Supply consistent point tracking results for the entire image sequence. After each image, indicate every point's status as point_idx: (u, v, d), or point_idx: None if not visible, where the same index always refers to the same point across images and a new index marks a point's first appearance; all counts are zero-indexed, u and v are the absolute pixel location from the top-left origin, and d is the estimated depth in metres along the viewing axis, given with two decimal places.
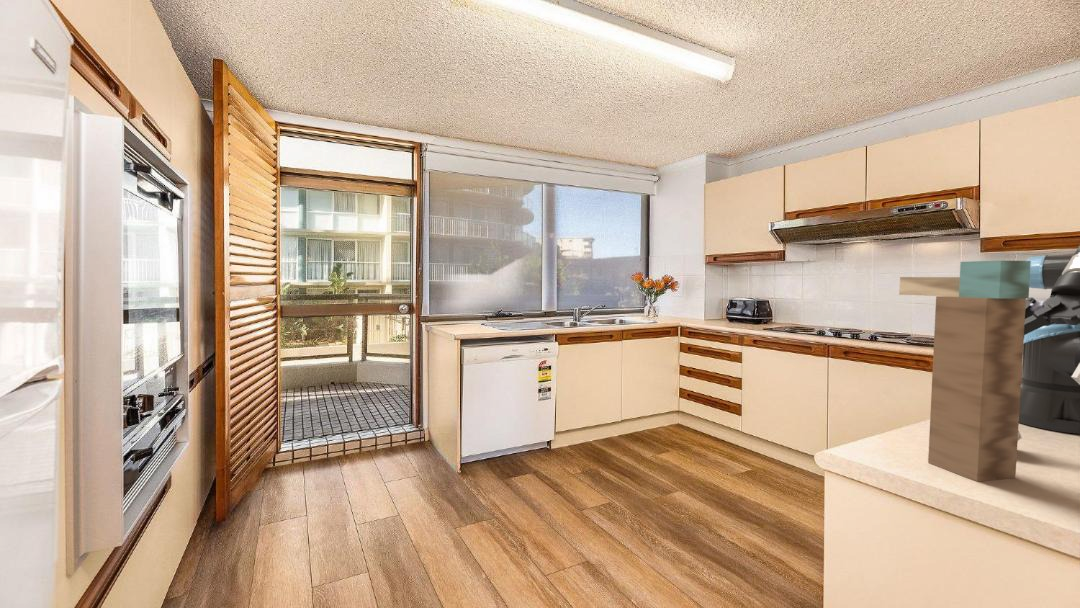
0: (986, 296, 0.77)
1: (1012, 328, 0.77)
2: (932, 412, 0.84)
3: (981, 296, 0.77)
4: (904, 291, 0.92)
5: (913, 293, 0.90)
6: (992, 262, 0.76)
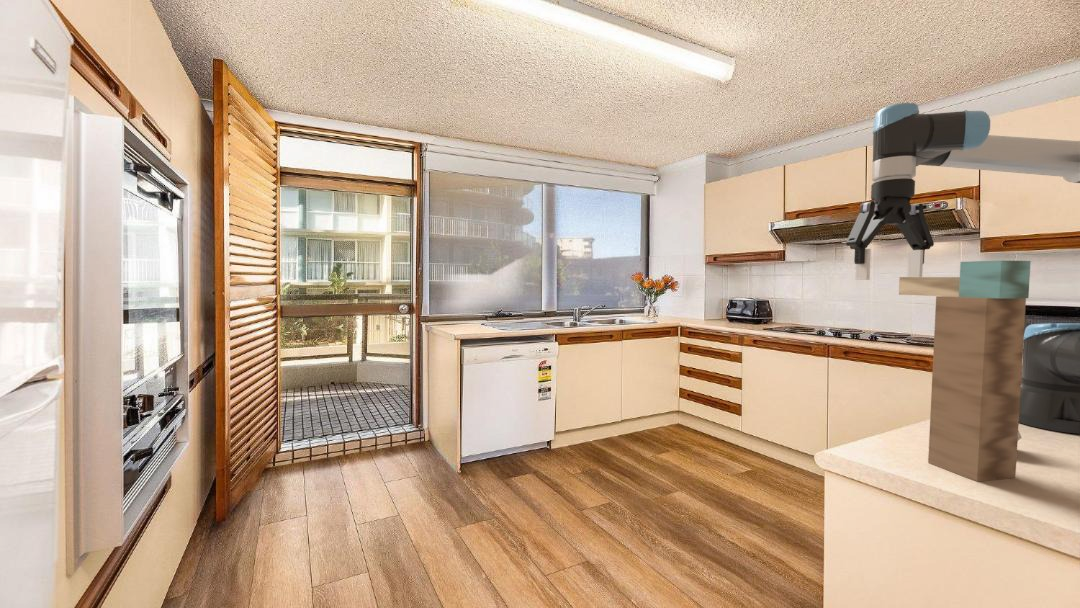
0: (986, 296, 0.77)
1: (1012, 328, 0.77)
2: (932, 412, 0.84)
3: (981, 296, 0.77)
4: (903, 291, 0.92)
5: (913, 293, 0.90)
6: (992, 262, 0.76)
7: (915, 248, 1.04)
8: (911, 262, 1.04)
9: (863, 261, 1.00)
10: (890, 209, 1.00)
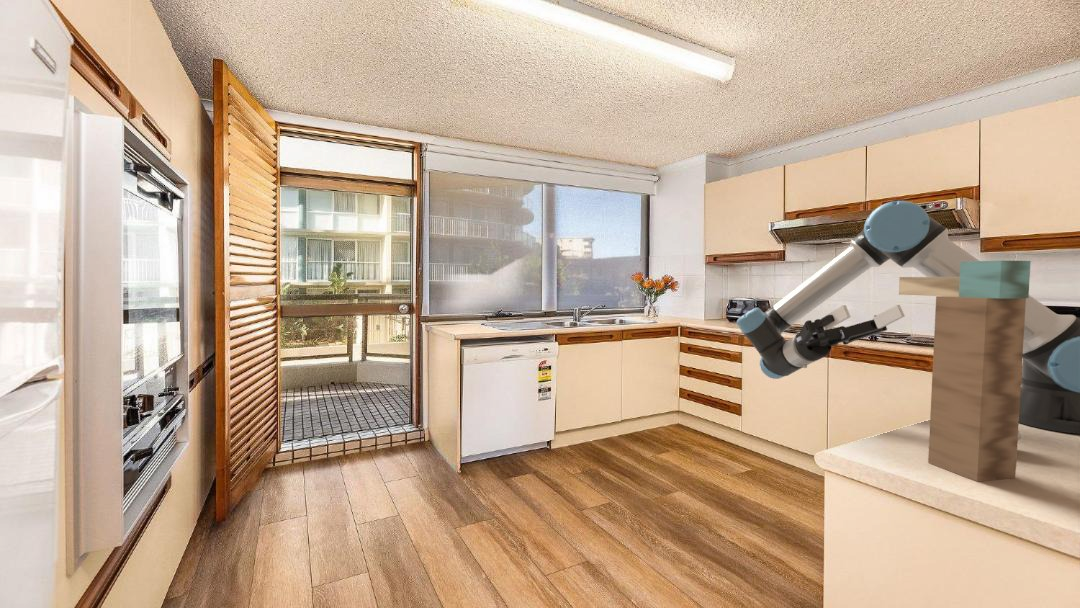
0: (986, 296, 0.77)
1: (1012, 328, 0.77)
2: (932, 412, 0.84)
3: (981, 296, 0.77)
4: (903, 291, 0.92)
5: (913, 293, 0.90)
6: (992, 262, 0.76)
7: None
8: (886, 320, 1.04)
9: None
10: (815, 332, 1.13)
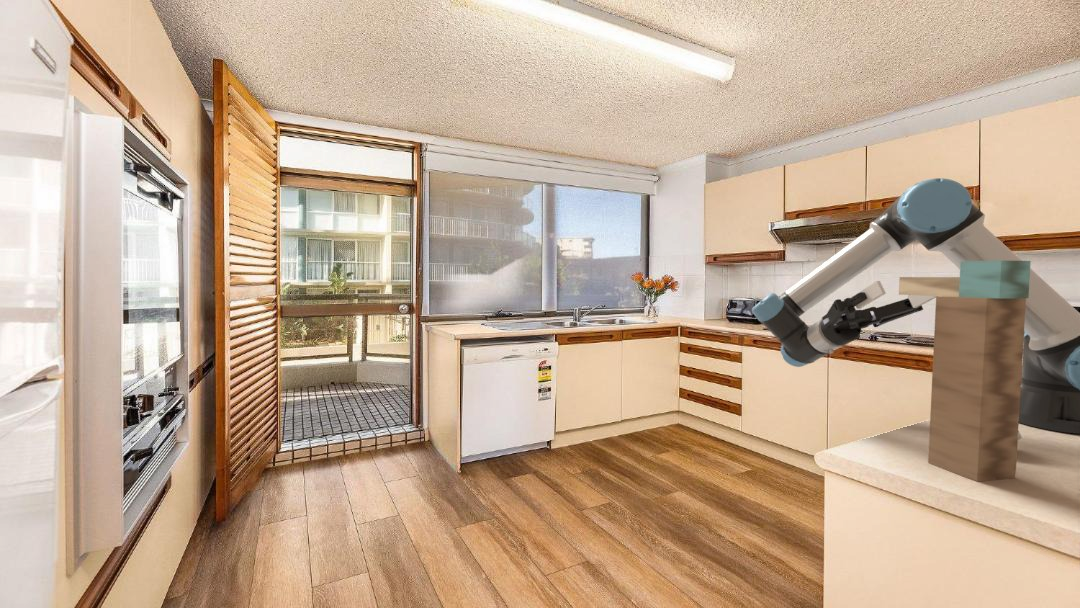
0: (986, 296, 0.77)
1: (1012, 328, 0.77)
2: (932, 412, 0.84)
3: (981, 296, 0.77)
4: (903, 291, 0.92)
5: (913, 293, 0.90)
6: (992, 262, 0.76)
7: None
8: (923, 298, 0.96)
9: None
10: (843, 314, 1.05)
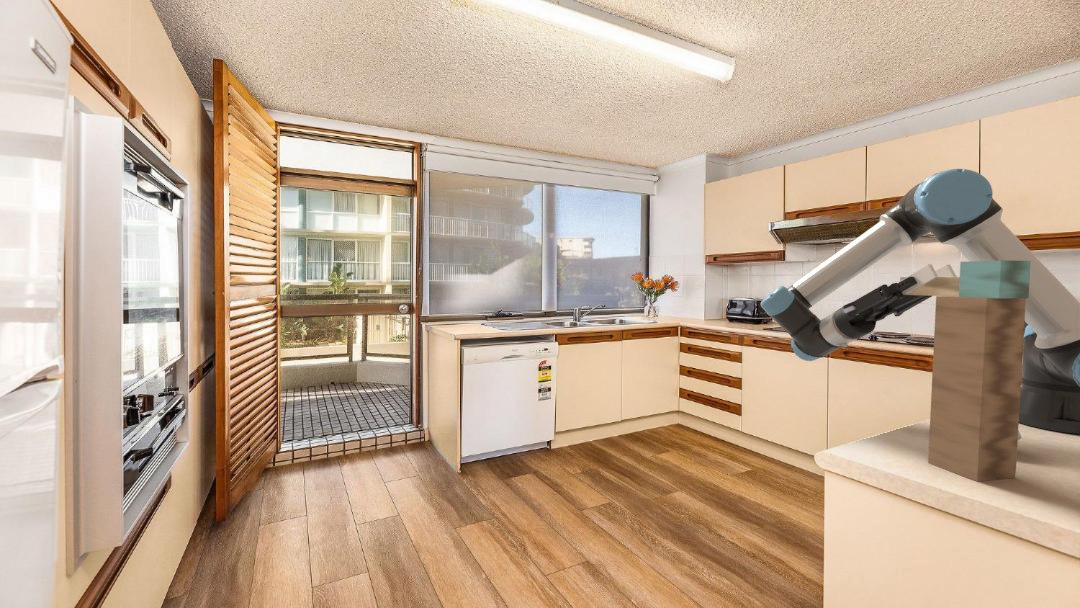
0: (986, 296, 0.77)
1: (1012, 328, 0.77)
2: (932, 412, 0.84)
3: (981, 296, 0.77)
4: None
5: (913, 293, 0.90)
6: (992, 262, 0.76)
7: None
8: None
9: None
10: None
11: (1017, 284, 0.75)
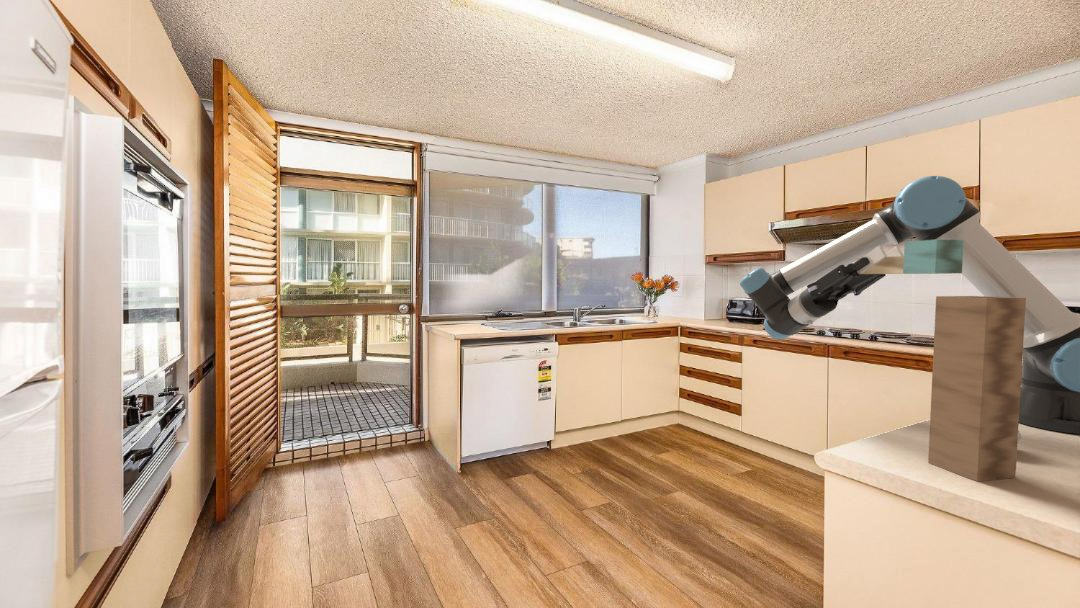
0: (925, 271, 0.86)
1: (1012, 328, 0.77)
2: (932, 412, 0.84)
3: (921, 272, 0.87)
4: None
5: (867, 272, 1.00)
6: (930, 241, 0.85)
7: None
8: None
9: None
10: None
11: (951, 261, 0.85)
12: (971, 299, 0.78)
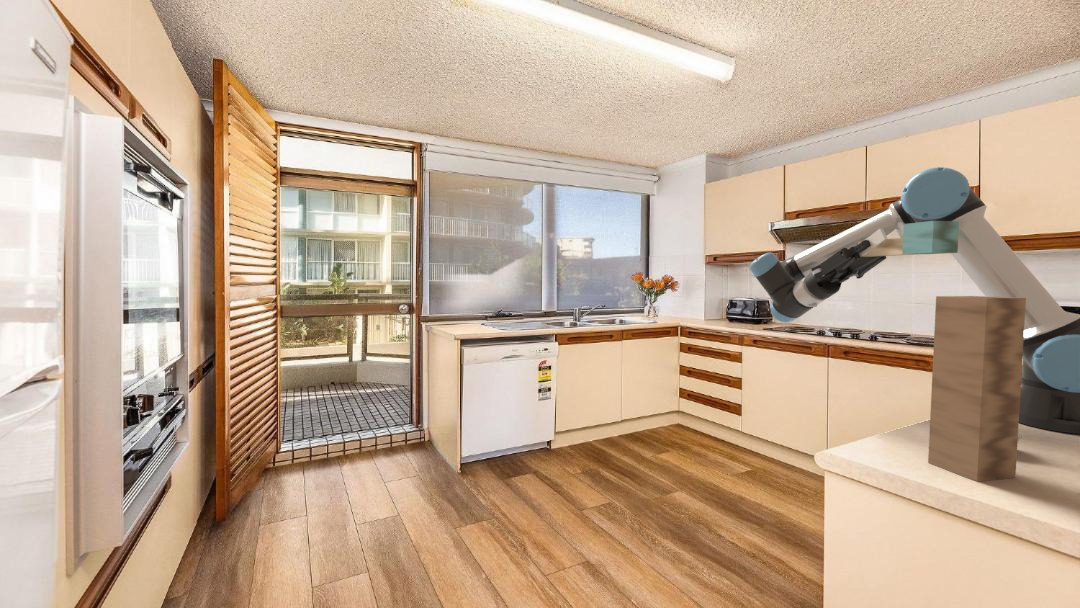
0: (922, 251, 0.92)
1: (1012, 328, 0.77)
2: (932, 412, 0.84)
3: (919, 251, 0.93)
4: None
5: (868, 254, 1.05)
6: (927, 222, 0.91)
7: None
8: None
9: None
10: None
11: (947, 241, 0.91)
12: (971, 299, 0.78)
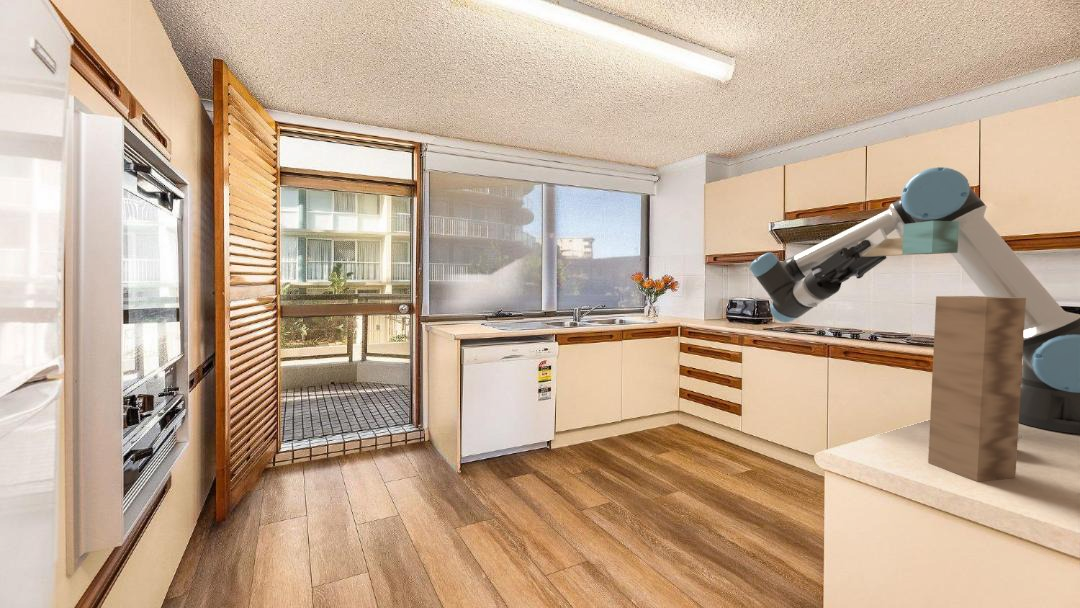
0: (922, 251, 0.92)
1: (1012, 328, 0.77)
2: (932, 412, 0.84)
3: (919, 251, 0.93)
4: None
5: (868, 254, 1.05)
6: (927, 222, 0.91)
7: None
8: None
9: None
10: None
11: (947, 241, 0.91)
12: (971, 299, 0.78)
